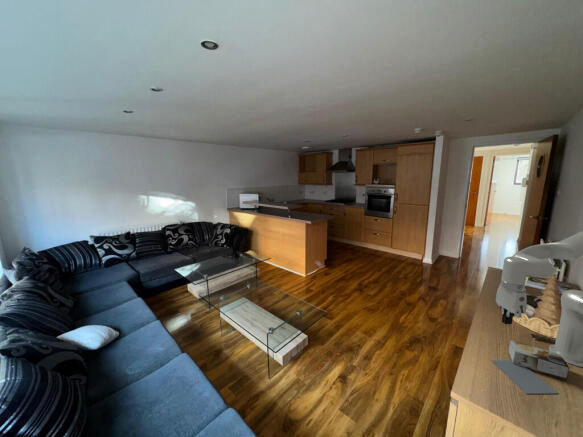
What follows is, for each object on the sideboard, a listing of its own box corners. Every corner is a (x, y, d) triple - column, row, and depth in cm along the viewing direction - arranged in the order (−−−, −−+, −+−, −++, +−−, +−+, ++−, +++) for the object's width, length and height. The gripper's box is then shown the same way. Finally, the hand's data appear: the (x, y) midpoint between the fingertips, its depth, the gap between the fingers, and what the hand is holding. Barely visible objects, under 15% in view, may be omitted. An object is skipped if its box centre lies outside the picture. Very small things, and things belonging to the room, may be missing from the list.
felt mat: (518, 360, 103) (518, 360, 103) (558, 393, 87) (558, 393, 87) (491, 360, 103) (491, 360, 103) (526, 394, 87) (526, 393, 87)
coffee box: (512, 363, 101) (566, 382, 92) (514, 350, 100) (570, 368, 91) (508, 350, 108) (558, 366, 99) (510, 338, 107) (561, 353, 98)
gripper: (539, 293, 92) (532, 334, 95) (505, 277, 107) (500, 313, 110) (520, 294, 92) (513, 334, 96) (489, 277, 107) (484, 313, 110)
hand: (506, 323), depth 103 cm, fingers closed
